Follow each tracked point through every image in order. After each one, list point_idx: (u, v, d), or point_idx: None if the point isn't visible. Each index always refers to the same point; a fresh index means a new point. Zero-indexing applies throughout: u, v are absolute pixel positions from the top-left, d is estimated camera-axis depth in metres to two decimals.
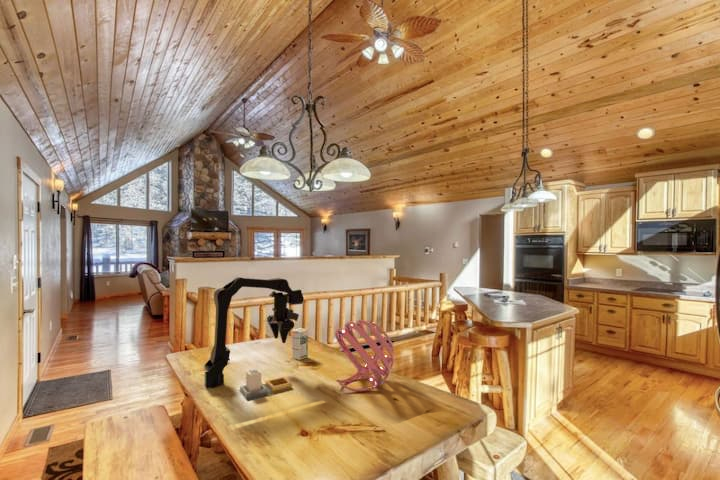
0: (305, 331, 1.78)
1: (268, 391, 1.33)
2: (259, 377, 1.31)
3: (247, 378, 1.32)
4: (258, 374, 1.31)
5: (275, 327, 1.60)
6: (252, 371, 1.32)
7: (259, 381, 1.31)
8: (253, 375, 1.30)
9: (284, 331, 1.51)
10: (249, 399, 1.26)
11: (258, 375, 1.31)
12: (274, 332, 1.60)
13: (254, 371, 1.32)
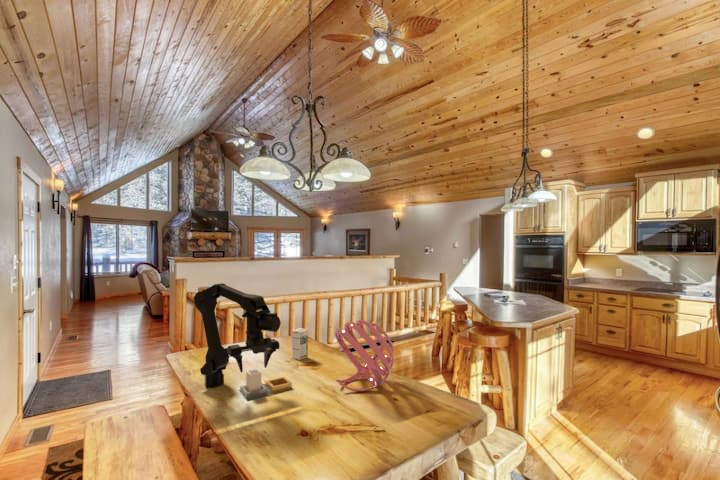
0: (305, 331, 1.78)
1: (268, 391, 1.33)
2: (259, 377, 1.31)
3: (247, 378, 1.32)
4: (258, 374, 1.31)
5: (265, 354, 1.36)
6: (252, 371, 1.32)
7: (259, 381, 1.31)
8: (253, 375, 1.30)
9: None
10: (249, 399, 1.26)
11: (258, 375, 1.31)
12: (264, 359, 1.36)
13: (254, 371, 1.32)
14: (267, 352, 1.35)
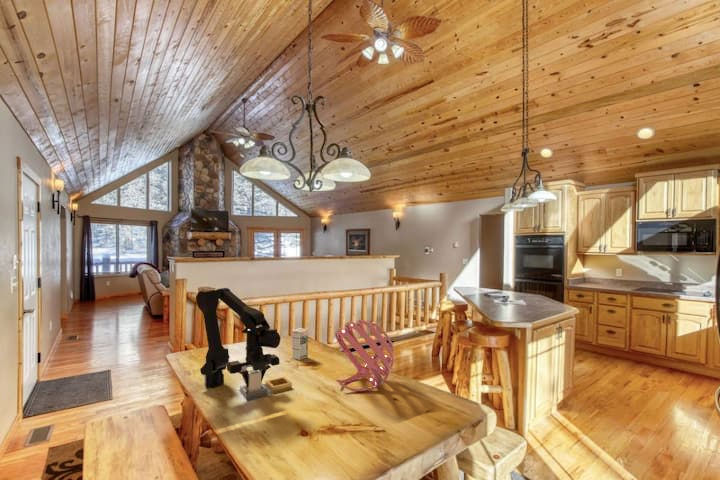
0: (305, 331, 1.78)
1: (268, 391, 1.33)
2: (259, 377, 1.31)
3: None
4: (258, 374, 1.31)
5: (260, 371, 1.34)
6: (252, 371, 1.32)
7: (259, 381, 1.31)
8: (253, 375, 1.30)
9: None
10: (249, 399, 1.26)
11: (258, 375, 1.31)
12: None
13: (254, 371, 1.32)
14: (261, 369, 1.33)
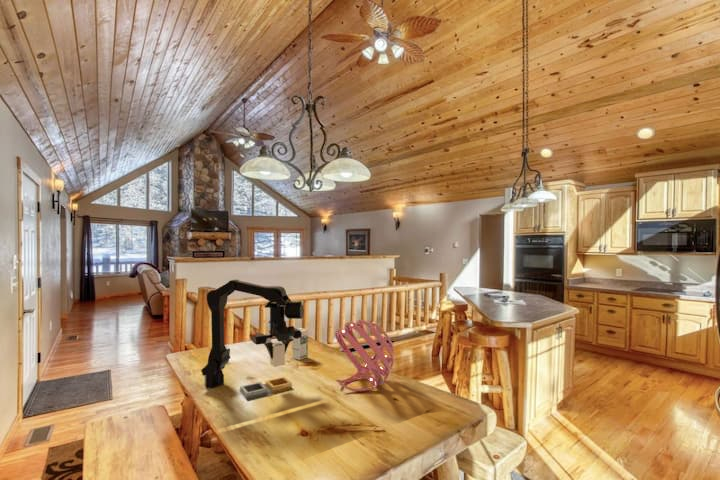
0: (305, 331, 1.78)
1: (268, 391, 1.33)
2: (283, 349, 1.37)
3: None
4: (282, 346, 1.36)
5: (283, 343, 1.40)
6: (276, 343, 1.38)
7: (283, 353, 1.37)
8: (277, 347, 1.35)
9: None
10: (249, 399, 1.26)
11: (281, 346, 1.36)
12: None
13: (278, 343, 1.38)
14: (285, 341, 1.38)
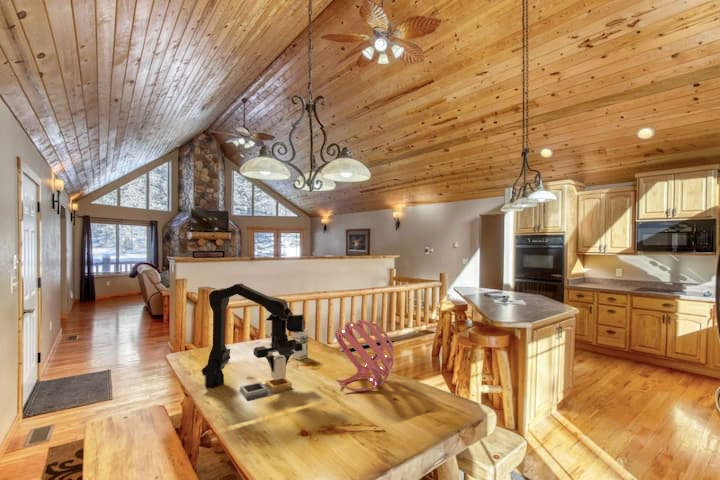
0: (305, 331, 1.78)
1: (268, 391, 1.33)
2: (284, 362, 1.37)
3: None
4: (283, 359, 1.37)
5: (284, 356, 1.40)
6: (277, 356, 1.38)
7: (284, 366, 1.37)
8: (278, 360, 1.36)
9: None
10: (249, 399, 1.26)
11: (283, 359, 1.37)
12: None
13: (279, 356, 1.38)
14: (286, 354, 1.39)
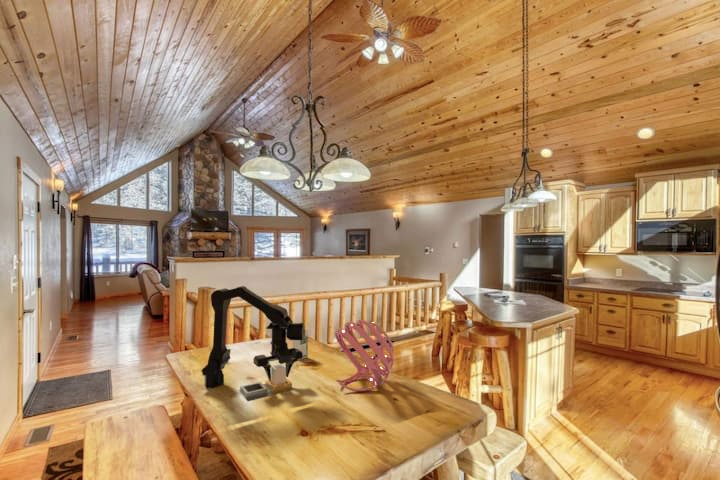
0: (305, 331, 1.78)
1: (268, 391, 1.33)
2: (284, 372, 1.37)
3: (272, 373, 1.37)
4: (283, 369, 1.37)
5: (287, 364, 1.41)
6: (277, 366, 1.38)
7: (284, 376, 1.37)
8: (278, 370, 1.36)
9: None
10: (249, 399, 1.26)
11: (283, 369, 1.37)
12: (286, 369, 1.41)
13: (279, 366, 1.38)
14: (289, 362, 1.40)
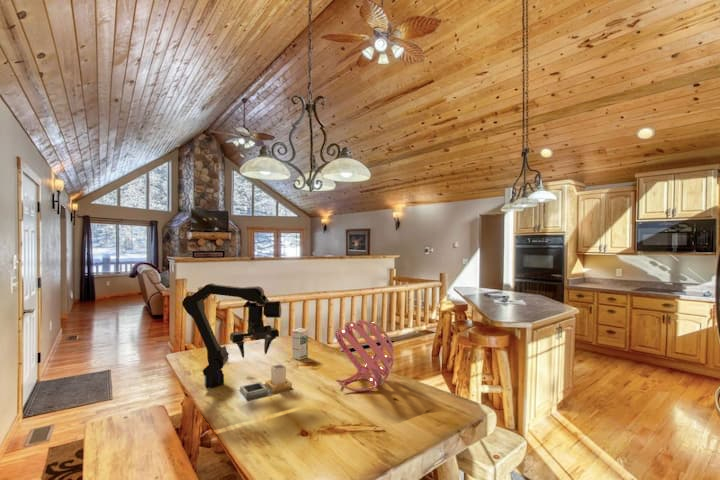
0: (305, 331, 1.78)
1: (268, 391, 1.33)
2: (284, 372, 1.37)
3: (272, 373, 1.37)
4: (283, 369, 1.37)
5: (266, 341, 1.45)
6: (277, 366, 1.38)
7: (284, 376, 1.37)
8: (278, 370, 1.36)
9: None
10: (249, 399, 1.26)
11: (283, 369, 1.37)
12: (264, 346, 1.45)
13: (279, 366, 1.38)
14: (267, 339, 1.44)
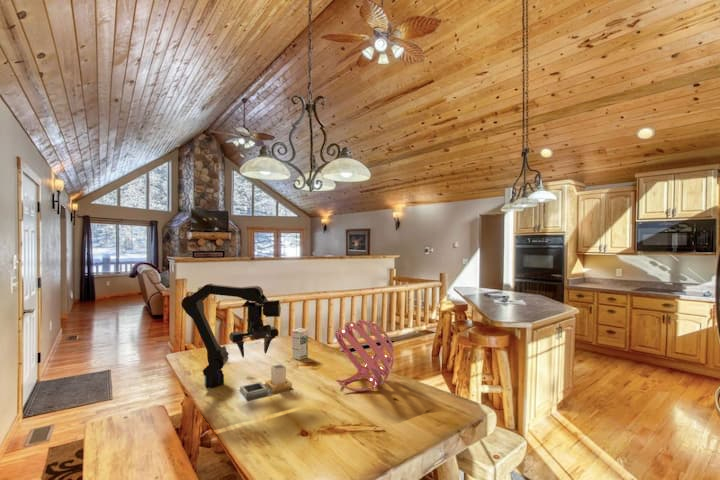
0: (305, 331, 1.78)
1: (268, 391, 1.33)
2: (284, 372, 1.37)
3: (272, 373, 1.37)
4: (283, 369, 1.37)
5: (265, 340, 1.45)
6: (277, 366, 1.38)
7: (284, 376, 1.37)
8: (278, 370, 1.36)
9: None
10: (249, 399, 1.26)
11: (283, 369, 1.37)
12: (264, 345, 1.45)
13: (279, 366, 1.38)
14: (267, 339, 1.44)
